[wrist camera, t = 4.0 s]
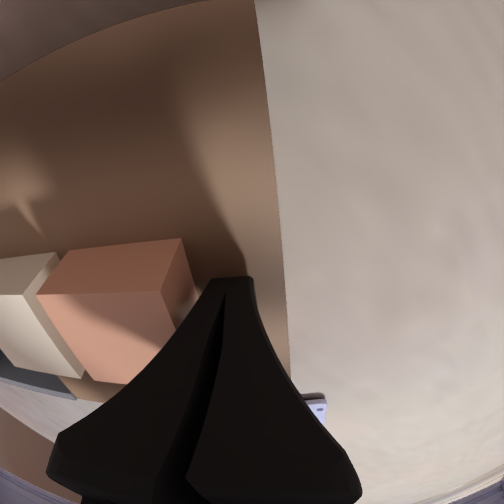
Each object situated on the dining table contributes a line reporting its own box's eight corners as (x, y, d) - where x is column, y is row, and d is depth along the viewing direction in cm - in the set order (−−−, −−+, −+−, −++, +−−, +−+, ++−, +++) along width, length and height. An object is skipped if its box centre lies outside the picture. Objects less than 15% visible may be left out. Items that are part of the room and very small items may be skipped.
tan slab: (290, 367, 18) (292, 410, 15) (90, 364, 19) (77, 398, 17) (255, 12, 8) (252, -7, 6) (-26, 115, 9) (-67, 134, 7)
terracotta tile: (210, 335, 12) (201, 388, 10) (112, 335, 12) (94, 380, 10) (181, 238, 10) (160, 290, 8) (69, 250, 10) (35, 294, 8)
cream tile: (100, 334, 13) (81, 378, 10) (35, 330, 13) (14, 366, 11) (55, 251, 10) (22, 295, 8) (-8, 260, 11) (-37, 294, 8)
